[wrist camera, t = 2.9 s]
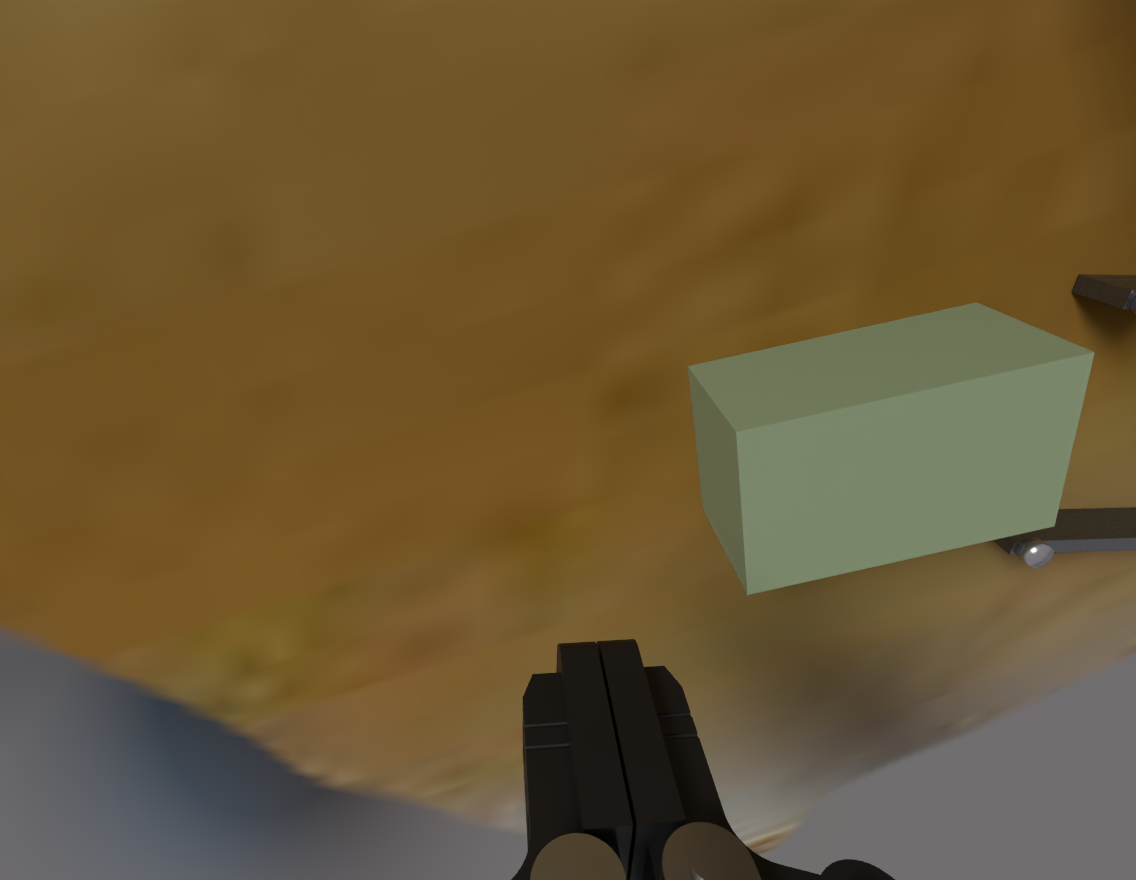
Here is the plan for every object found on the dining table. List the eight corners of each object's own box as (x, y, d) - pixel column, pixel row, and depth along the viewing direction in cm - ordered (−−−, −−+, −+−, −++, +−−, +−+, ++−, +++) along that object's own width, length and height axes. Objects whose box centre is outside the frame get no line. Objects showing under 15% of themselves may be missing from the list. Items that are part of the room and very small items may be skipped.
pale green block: (686, 364, 22) (736, 432, 17) (972, 300, 22) (1094, 352, 17) (701, 506, 25) (747, 595, 20) (953, 450, 25) (1054, 526, 20)
